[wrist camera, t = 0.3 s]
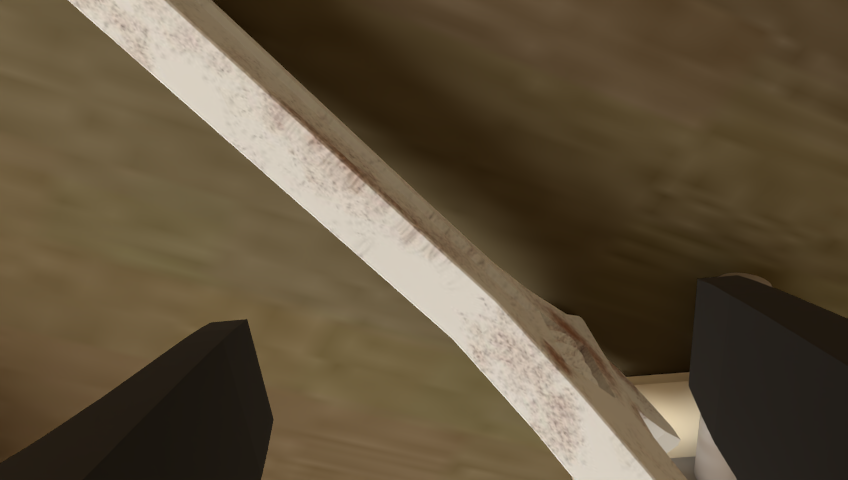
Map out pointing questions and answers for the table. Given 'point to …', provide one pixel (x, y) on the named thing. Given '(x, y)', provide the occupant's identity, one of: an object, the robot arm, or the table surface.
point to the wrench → (400, 237)
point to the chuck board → (687, 420)
